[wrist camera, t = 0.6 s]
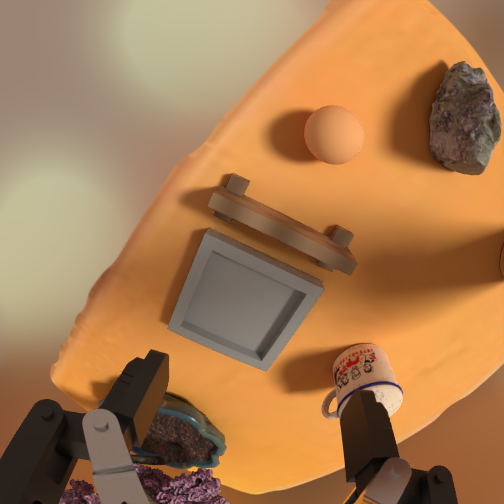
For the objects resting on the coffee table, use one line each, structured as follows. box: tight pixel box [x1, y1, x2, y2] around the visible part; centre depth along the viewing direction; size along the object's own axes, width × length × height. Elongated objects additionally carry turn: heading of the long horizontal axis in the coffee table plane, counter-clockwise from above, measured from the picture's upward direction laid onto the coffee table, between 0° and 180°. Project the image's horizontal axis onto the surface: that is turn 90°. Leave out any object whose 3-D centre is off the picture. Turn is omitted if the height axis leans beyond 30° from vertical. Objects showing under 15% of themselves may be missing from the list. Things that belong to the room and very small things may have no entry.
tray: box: [167, 228, 324, 372], centre depth 36 cm, size 15×15×2 cm
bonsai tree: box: [60, 394, 231, 504], centre depth 34 cm, size 35×27×32 cm
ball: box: [304, 106, 364, 165], centre depth 26 cm, size 6×6×6 cm
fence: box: [207, 173, 357, 275], centre depth 30 cm, size 16×5×5 cm, turn 65°
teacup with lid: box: [322, 344, 403, 419], centre depth 34 cm, size 12×9×12 cm
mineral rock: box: [429, 61, 501, 175], centre depth 21 cm, size 13×11×10 cm
